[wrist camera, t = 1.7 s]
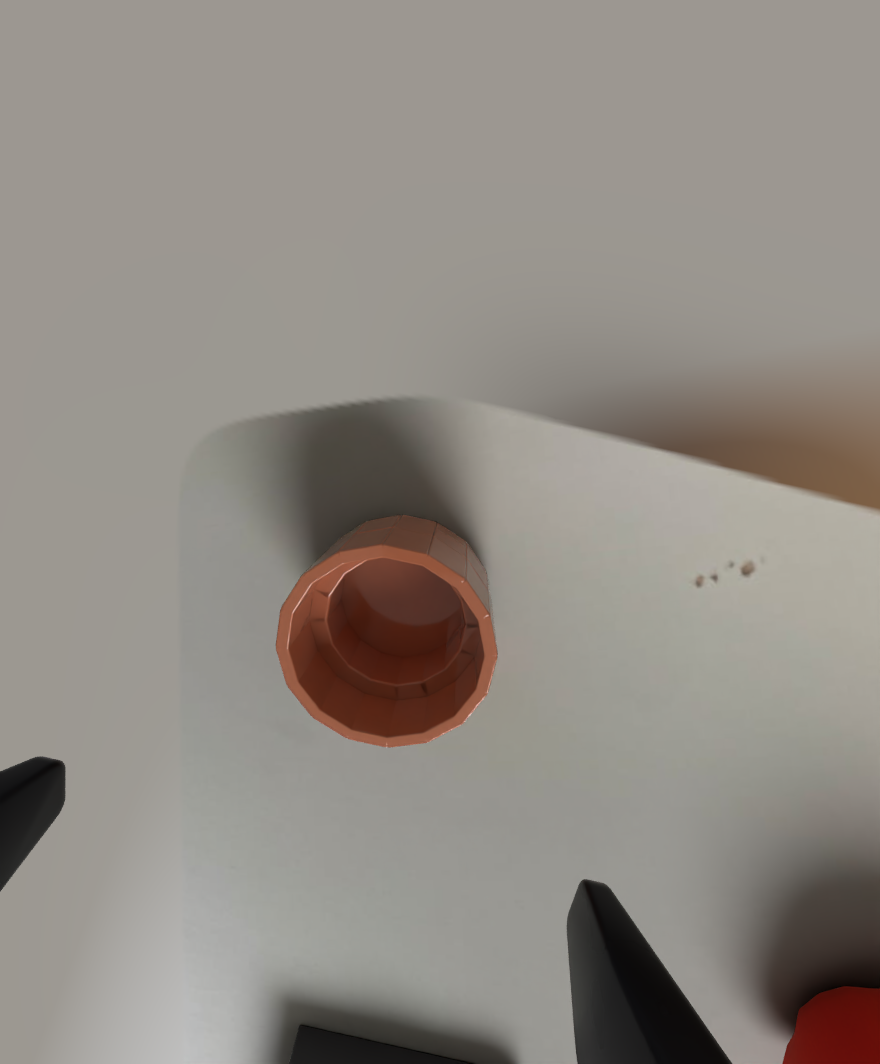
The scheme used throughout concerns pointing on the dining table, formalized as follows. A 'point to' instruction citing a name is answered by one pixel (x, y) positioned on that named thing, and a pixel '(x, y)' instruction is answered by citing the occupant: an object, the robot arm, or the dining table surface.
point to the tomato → (837, 1028)
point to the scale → (353, 1051)
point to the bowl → (390, 633)
